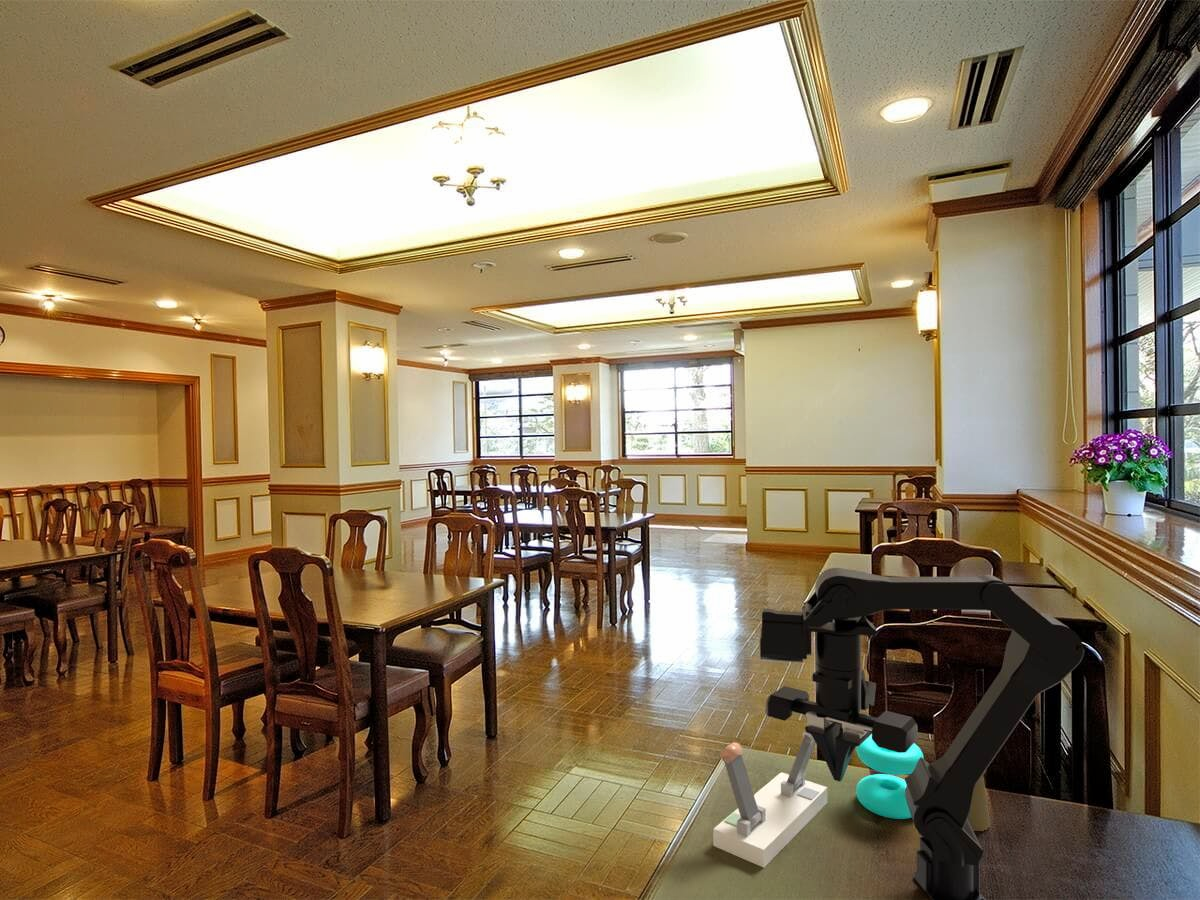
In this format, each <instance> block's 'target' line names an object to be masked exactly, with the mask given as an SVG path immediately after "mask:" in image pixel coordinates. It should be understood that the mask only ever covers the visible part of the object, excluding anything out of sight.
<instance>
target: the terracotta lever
mask: <svg viewBox="0 0 1200 900" xmlns="http://www.w3.org/2000/svg"><path fill="white" fill-rule="evenodd" d="M742 748H743V747H742V746H741V745H740V744H739V743H738V742H737V741H733V742H731V743H730V744H729V745H727V746H725V747H724V748H722V749H721V751H720V754H719V755H720V756H719V757H720V759H721V760H722V762H724V765H725V769H726V772H727V776H728V778H729V783H730V785H731V789H732V791H733V792H732V793H733V795H734V798H735V803H736V805H737V809H739V812H740V816H741V818H742V819H745V820H747V821H750V822H751V829H752V828H753V827H754V826H755V825H756V824H757V823H758V822H759V821H760V820H761V814H760V813H759V811H758V807H757V804H756V801H755V798H754V790H753V789H752V785H751V782H750V778H749V775H748V771H747V769H746V766H745V762H744V759H743V756H742V753H743V749H742Z"/></svg>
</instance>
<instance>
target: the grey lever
mask: <svg viewBox="0 0 1200 900" xmlns="http://www.w3.org/2000/svg"><path fill="white" fill-rule="evenodd" d="M802 738H803V739H802V742H801V744H800V746H799V748H798V752H797V754H796V757H795V760H794V762H793V765H792V767H791V770H790V773H789V774H788V775H789V777H788V780H787V781H786V782H789V783H792V784H793V790H794V789H796V788H797V787H798V786H799V785H800V784H801V783H802V777H803V774H804V773H806V772H805V771H806V770H807V766H808V764H809V761H810V758H811V757H812V754H813V751H814V749H815V746H816V745H817V744H816V742H815V740H814V739H813V737H812V735H811V734H809V733H806V732H805V730H804V731H803V732H802Z"/></svg>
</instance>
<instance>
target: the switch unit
mask: <svg viewBox="0 0 1200 900" xmlns="http://www.w3.org/2000/svg"><path fill="white" fill-rule="evenodd" d="M789 775H790V774H788V773H786V772H780V773H779V774H777V775H776V776H775V777H774V778H772V779H771V780H770V781H768V783H767V784H765V785H764V786H763V787H762V788H760V789H759V790H757V792H756V793H755V794H754V793H753V794H754V798H755V801H756V804H757V807H758V811H759V813H760V814H761V820H760V821H759V822H758V823H757V824H756V825H755V826H754V827H753V828H752V829H751V822H750V821H747V820H745V819H742V818H741V816H740V812H739V809H738V808H736V809H735V810H734V811H732V812H731V813H730V815H728V816H727V817H725V818H724V819H723V820H722V821H721V822H719V823H718V824H717V825H716V826H715V827H714V828H713V829H712V831H713V835H712V836H713V838H712V840H713V842H712V844H713V845H712V846H713V847H715V848H718V849H720V850H722V851H724V852H727V853H729V854H732V855H733V856H736V857H738V858H741V859H743V860H745V861H747V862H750V863H753V864H754V865H757V866H759V867H761V868H766V867H767V865H768V864H769V863H770V862H771V861H773V859H774V858H776V856H777V855H778V854H779V853H780V852H781V851H782V850H783V849H784V848H785V847H786V846H787V845H788V844H789V843H790V842H791V841H792V840H793V839H794V838H795V836H797V835H798V834H799V833H800V831H802V829H804V828H805V826H806V825H807V824H808V823H809V822H810V821H811V820H813V818H814V817H815V816H816V815H817V814H818V813H819V812H820V811H821V810H822V809H823V808H824V807H825V806H826V805H827V804H828V786H824V785H821V784H819V783H816V782H812V781H810V780H806V772H804V774H803V777H802V783H801V784H800V785H799V786H798V787H797V788H796V789H794V790H793V784H792V783H789V782H786V781H787V780H788V777H789Z"/></svg>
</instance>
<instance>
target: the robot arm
mask: <svg viewBox="0 0 1200 900" xmlns="http://www.w3.org/2000/svg"><path fill="white" fill-rule="evenodd" d="M814 589H815V592H813V594H812V595H811V596H810V597H809V598H808V600H806V602H805V603H804V605H803V606H802V607H801V609H800V610H801V611H789V610H777V609H774V608H773V609H772V608H762V610H761V628H760V636H759V637H760V638H759V644H760V645H759V648H760V649H759V655H760V657H759V659H760V660H761V661H762V660H763V661H772V662H773V661H774V662H775V661H776V662H777V661H778V662H787V663H788V662H789V663H801V664H803V662H804V660H808V656H809V657H810V656H812V633H815V642H816V643H815V659H816V660H815V672H813V673H812V675H811V676H812V682H815V685H816V686H815V687H816V689H815V693H816V694H815V698H816V699H815V700H816V701H812V700H810V695H809V693H808V692H807V691H806V690H802V689H799V688H793V687H790V686H785V685H784V686H782V687H781V688H779V689H777V690H776V691H774V692H773V693H771V694H769V696H768V697H767V699H766V700H765V701H766V702H765V715H766V716H767V717H771V718H774V719H777V720H781V721H787V720H788V719H789V718H790V717H792V716H793V712H794V713H797V714H801V715H804V716H806V717H807V724H806V726H805V727H804V731H805V732H806V733H809V734H811V735H812V737H813V739H814V740H815V742H816V744H815V745H816V746H817V747H818V750H820V752H821V754H822V756H823V759H824V761H825V763H826V766H827V767H828V769H829V771H830V774H831V776H832V778H833V781H835V782H839V783H840V782H841V781H842V780H843V779H844V777H845V774H846V772H847V769H848V767H849V763H850V761H851V758H852V755H853V753H854V750H856V746H860V745H861V744H862V743H863V742H864V741H865V740H866V739H867V738H868V737H869V736H870V735H871V734H872V740H873V741H874V742H875V743H876V745H877V746H878V747H881V748H884V749H888V750H892V751H895V752H899V753H903V752H906V751H907V750H908V749H909V748H910V747H911V746H912V744H913V743H914V744H915V742H916V741H917V740H918V739H919V738H918V737H919V736H918V735H919V734H918V732H919V731H918V730H919V728H918V727H919V726H918V724H917V722H916V721H915V719H914V717H913V716H908V715H904V714H901V713H897V712H893V711H888V710H885V711H883V712H882V713H881V714H880V715H879V716H878V717H875V716H872V715H869V714H864V713H862V711H867V710H868V709H869V706H872V707H874V706H875V700H876V699H875V697H876V691H877V689H876V688H877V683H876V682H872V681H868V680H866V674H865V670H864V669H862V636H871V637H872V636H873V637H874V636H877V635H878V631H877V629H876V626H875V625H874V624H873V623H872V622H871V621H870V620H868V619H867V617H868V616H871V615H874V614H875V615H876V614H878V613H881V612H884V611H891V610H927V611H928V610H932V611H933V610H935V611H936V610H944V611H949V610H954V611H956V610H958V611H960V610H961V611H963V610H964V611H967V610H968V611H989V612H991V613H992V614H993V615H994V616H996V618H998V619H999V620H1000V621H1001V622H1002V623H1003V624H1004V625H1006V626H1007V627H1008V628H1009V629H1011V633H1010V635H1009V637H1008V640H1007V643H1006V646H1005V651H1004V657H1003V662H1002V667H1001V669H1000V671H999V672H998V674H997V676H996V677H995V679H994V680H993V681H992V683H991V685H990V686H989V687H988V689H987V691H986V692H985V693H984V695H983V697H982V698H981V699H980V701H979V702H978V704H977V705H976V707H975V709H973V712H972V713H971V714H970V716H969V717H968V719H967V720H966V722H965V723H964V725H963V726H962V728H961V729H960V731H959V732H958V733H957V735H956V736H955V737H954V739H953V740H952V743H950V745H949V747H948V748H947V750H946V751H945V752H944V754H943V755H942V756H941V757H940V758H938V759H936V760H934V761H933V762H931V763H930V762H928V761H927V760H926V759H923V758H920V759H919V760H918V762H917V764H916V767H915V769H914V771H913V772H912V773H911V774H908V775H907V776H906V777H904V780H905V782H906V785H907V786H906V789H905V799H906V802H907V805H908V808H909V811H910V814H911V818H912V821H913V825H914V827H915V830H916V831H917V832H918V834H919V835H920V836H921V837H920V838H919V849H917V851H916V871H915V872H913V877H914V879H915V881H916V882H917V883H918V884H919V886H921V888H922V889H923V891H924V892H925V893H926V894H927V896H928V897H929V898H930V899H931V900H987V899H986V897H984V896H983V894H982V893H981V892H980V890H981V889H980V888H981V887H980V885H981V884H980V883H981V882H980V875H981V873H980V868H981V866H980V864H981V863H980V862H981V859H982V857H983V854H984V850H983V848H982V845H981V844H980V842H979V839H978V837H977V836H976V834H975V832H974V831H973V829H972V827H971V825H970V823H969V821H968V817H969V814H970V811H971V806H972V800H973V795H974V790H975V786H976V784H977V782H978V781H979V779H980V778H981V777H982V775H983V776H984V775H985V773H986V772H987V770H986V769H988V768H989V766H990V765H991V763H992V762H993V761H994V759H995V757H996V756H997V755H998V753H999V752H1000V751H1001V749H1002V747H1003V746H1004V745H1005V744H1006V741H1008V739H1009V738H1010V736H1011V734H1012V733H1013V732H1014V730H1015V729H1016V727H1017V726H1018V724H1019V723H1020V721H1021V720H1022V718H1023V717H1024V715H1025V714H1026V713H1027V711H1028V710H1029V708H1030V707H1031V705H1032V704H1033V703H1034V701H1035V700H1036V698H1037V697H1038V696H1039V695H1040V694H1042V692H1044V691H1047V690H1048V689H1051V688H1052V687H1054V686H1056V685H1058V684H1059V683H1062V682H1063V680H1064V679H1066V677H1068V676H1069V674H1070V673H1072V671H1074V670H1075V669H1076V667H1078V666H1079V665H1080V663H1081V662H1082V660H1083V658H1084V656H1085V648H1084V644H1083V642H1082V639H1081V637H1080V636H1079V634H1078V633H1077V632H1075V631H1074V630H1073V629H1072V628H1070V627H1068V625H1065V624H1064V623H1063V622H1061V621H1060V620H1058V619H1056V618H1055V617H1054V616H1052V615H1049V614H1047V613H1045V612H1044V613H1043V612H1039V611H1037V610H1036V609H1035V608H1034V607H1033V606H1031V605H1030V604H1028V603H1027V601H1025V600H1024V599H1023V598H1021V597H1020V596H1019V595H1018V594H1017V593H1015V592H1014V591H1013V590H1012V588H1011V586H1010V585H1009V584H1008V583H1006V582H1005V581H1003V580H1001V579H1000V578H999V577H996V576H994V575H990V574H982V575H978V576H883V575H877V574H875V573H874V574H873V573H870V572H866V571H862V570H856V569H855V570H854V569H849V568H848V569H847V568H843V567H831V568H827V569H825V570H824V571H822V573H821V574H819V576H817V579H816V581H815V587H814ZM841 728H842V731H840V730H841ZM985 771H986V772H985ZM984 772H985V773H984Z"/></svg>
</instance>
